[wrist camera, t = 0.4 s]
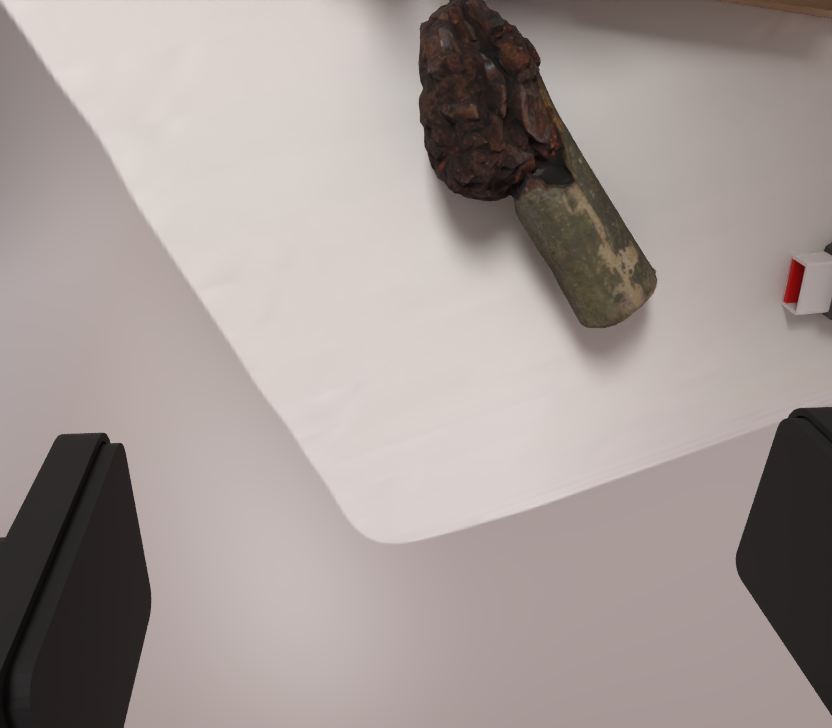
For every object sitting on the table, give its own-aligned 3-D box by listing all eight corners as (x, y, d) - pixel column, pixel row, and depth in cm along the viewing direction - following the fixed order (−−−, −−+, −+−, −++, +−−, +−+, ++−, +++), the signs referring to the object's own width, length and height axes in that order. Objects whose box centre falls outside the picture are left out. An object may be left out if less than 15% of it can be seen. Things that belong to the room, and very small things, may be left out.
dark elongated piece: (643, 259, 43) (681, 301, 38) (540, 322, 44) (563, 370, 39) (482, -34, 35) (502, -28, 30) (363, 55, 36) (364, 74, 32)
